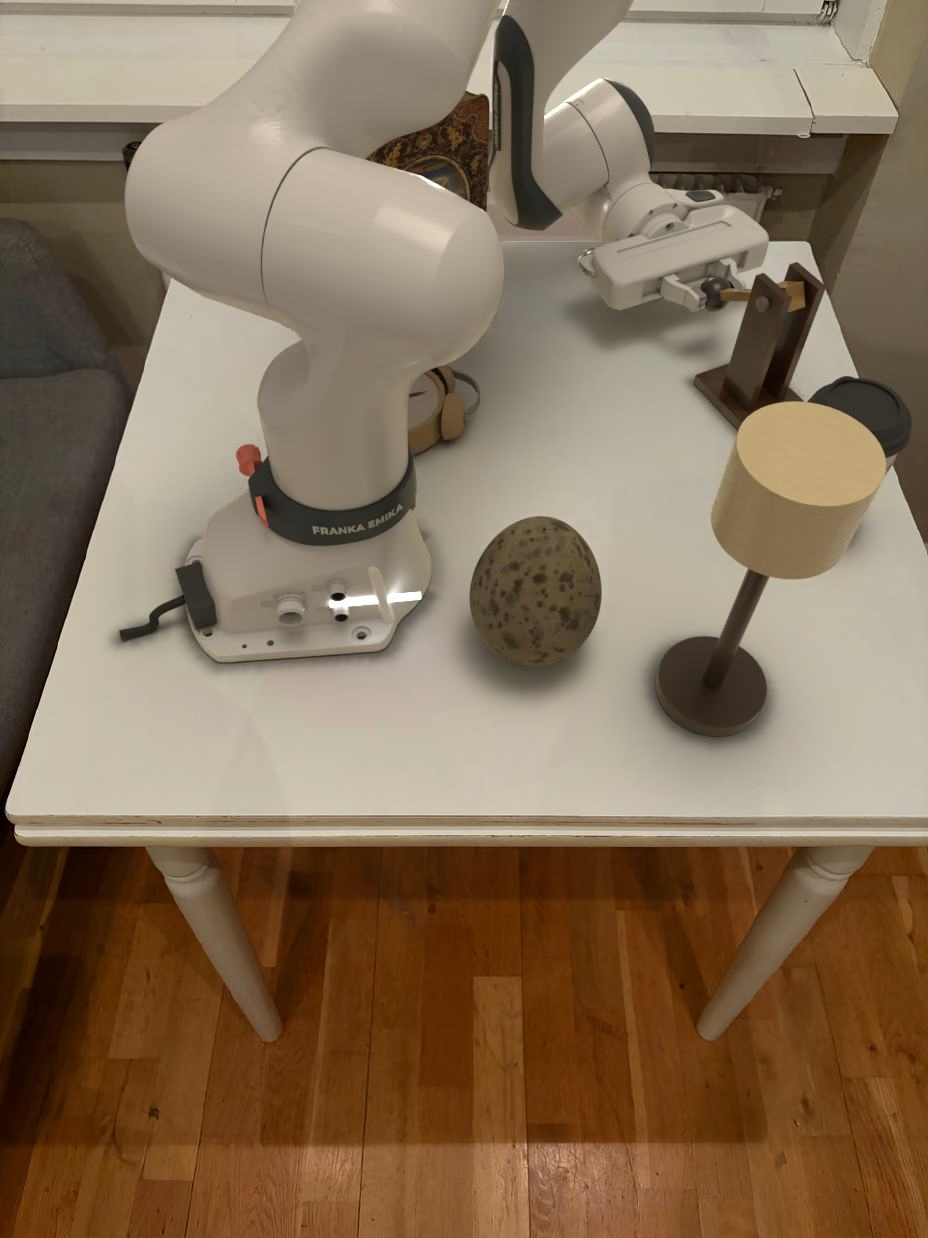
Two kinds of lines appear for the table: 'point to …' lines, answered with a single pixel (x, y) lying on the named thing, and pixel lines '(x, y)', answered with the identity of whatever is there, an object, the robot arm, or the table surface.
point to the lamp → (771, 546)
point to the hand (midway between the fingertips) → (720, 298)
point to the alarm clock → (437, 407)
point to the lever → (745, 293)
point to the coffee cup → (870, 411)
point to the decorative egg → (536, 592)
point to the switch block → (764, 349)
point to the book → (448, 151)
